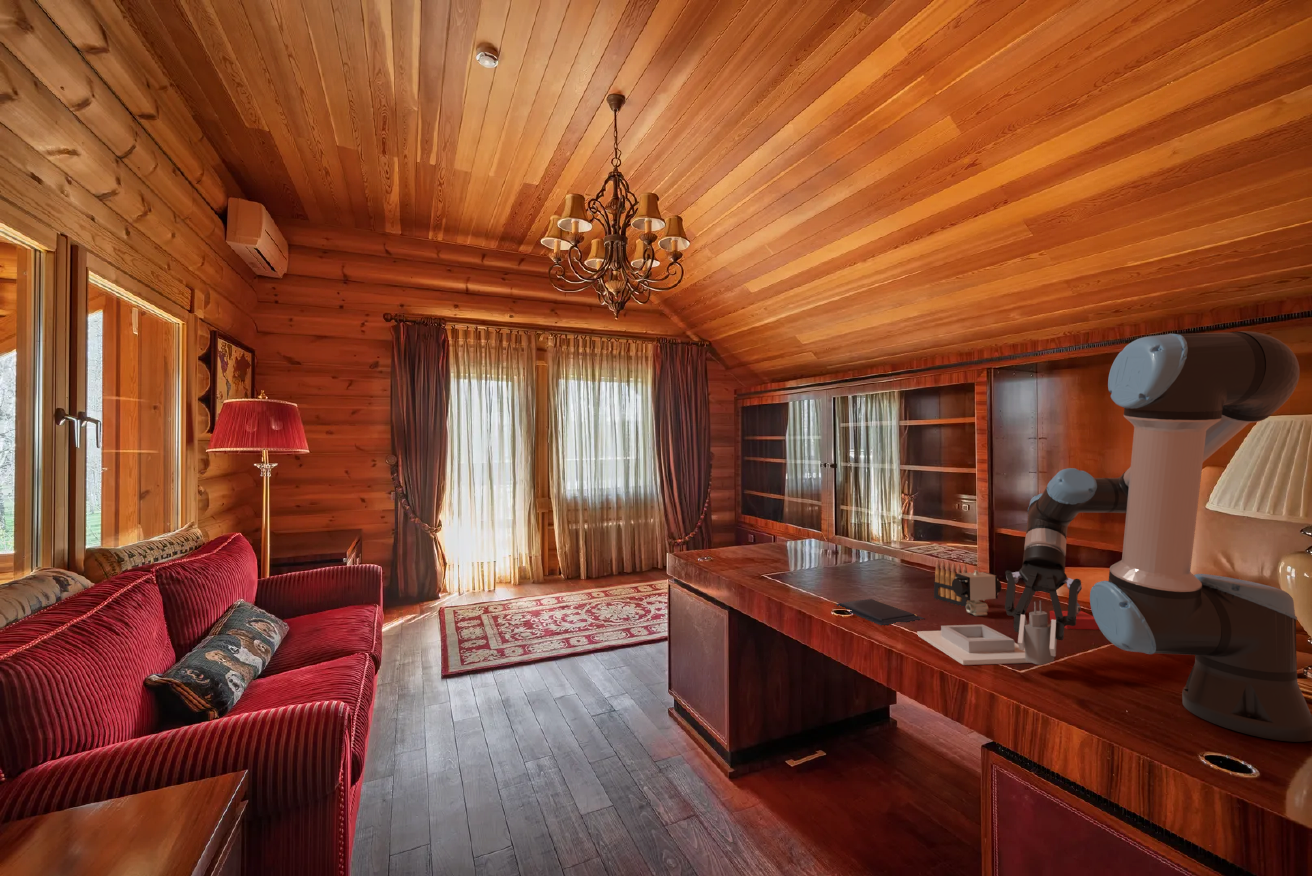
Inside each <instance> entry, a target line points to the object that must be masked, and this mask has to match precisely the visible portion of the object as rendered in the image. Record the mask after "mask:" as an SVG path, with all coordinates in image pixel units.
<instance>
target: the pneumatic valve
mask: <svg viewBox="0 0 1312 876" xmlns="http://www.w3.org/2000/svg"><path fill="white" fill-rule="evenodd" d="M952 589H953V591H954V592H955V594H956V596H958V597H961V598H964V599H966V600H970V601H967V602H966V603H967V605H966V607H965V611H966V613H968V614H971V615H973V616H975V617H982V616H988V611H989V606H988V603H986V602H985V601H986V600H994V599H995V600H996V599H997V600H998V599H999V598H998V595H999V593H1000V592H1001V591H1002V583H1001V581H1000V580H999V578H998V575H995V574H992V573H989V572H986V571H981V572H980V571H978V570H976V569H975V570H973V572H971V571H970V572H967V573H963V572H962V573H957V572H956V577H955V579H954V580H953V581H952ZM982 601H983V602H982Z"/></svg>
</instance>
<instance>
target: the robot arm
mask: <svg viewBox="0 0 1312 876" xmlns="http://www.w3.org/2000/svg"><path fill="white" fill-rule="evenodd" d="M1299 364H1300V363H1299V361H1298V359H1297V356H1296V354H1295V353H1294V352H1293V350H1292V349H1291V348H1290V347H1289V346H1288V345H1287V344H1286V343H1284V342H1282V340H1280V339H1278V338H1276V337H1273V336H1272V335H1269V334H1266V333H1262V332H1256V331H1243V330H1241V331H1231V332H1206V333H1205V332H1203V333H1200V332H1199V333H1167V334H1160V335H1159V334H1157V335H1149V336H1144V337H1140V338H1137V339H1135V340H1133V341H1131V342H1130V343H1128V344H1127V345H1126V346H1125V347H1124V348H1123V349H1122V350H1121V351H1120V352H1119V353H1118V354H1117V356H1116V357H1115V359H1114V360H1113V363H1112V365H1111V367H1110V370H1109V374H1108V381H1107V387H1108V392H1109V393H1111V394H1110V398H1111V400H1112V401H1113V402H1114V403H1115V405H1117V406H1119V407H1122V408H1124V409H1123V417H1124V419H1126V420H1127V421H1128V422H1130V424H1131V425H1132V426H1133V438H1132V448H1131V459H1130V466H1129V468H1127V469H1126V471H1124V472H1123V473H1122V474H1121V475H1120V476H1119V477H1093V475H1091V474H1090V473H1089V472H1087V471H1085V470H1079V469H1077V468H1075V467H1074V468H1073V467H1072V468H1071V467H1067V468H1063V469H1061V470H1059V471H1058V472H1057V473H1056V474H1055V475H1054V476H1052V478H1051V479H1050V480H1049V482H1047V485H1046V487H1045V489H1044V491H1043V492H1041V493H1039V494H1037V495H1035V496H1033V497H1032V498H1031V499H1030V501H1029V506H1028V507H1027V523H1026V533H1025V539H1024V549H1023V550H1024V551H1023V557H1022V564H1021V565H1022V566H1021V568H1020V569H1019V570H1018V571H1015V572H1012V571H1011V570H1005V572H1004V573H1005V577H1006V580H1007V581H1006V582H1007V583H1006V593H1005V603H1004V609H1005V612H1006V613H1005V614H1006V615H1007V616H1011V617H1013V630H1014V633H1018V635H1017V636H1018V637H1017V644H1018V645H1019V649H1020V650H1024V648H1025V633H1024V624H1028V621H1027V617H1026V613H1027V610H1028V608H1029V605H1030V603H1031V600H1032V599H1033V596H1035V594H1036V593H1037V592H1043V593H1046V594H1049V597H1050V601H1051V605H1052V609H1053V611H1054V613H1055V617H1056V620H1054V619H1051V621H1050V624H1051V633H1050V648H1049V649H1050V653H1051V656H1054V657H1056V656H1057V642H1058V641H1063V640H1064V638H1065V637H1064V636H1065V628H1064V627H1065V626H1066V625H1070V626H1075V625H1076V615H1077V603H1078V597H1079V596H1078V595H1079V594H1080V593H1081V591H1082V589H1083V588H1082V587H1083V586H1082V581H1081V579H1080V578H1074V579H1073V578H1070V577H1068V576H1067V574H1066V572H1065V571H1066V570H1065V569H1066V555H1067V535H1068V527H1069V525H1070V524H1071V522H1072V521H1074V519H1076V517H1077V516H1078V515H1079V514H1080V513H1102V514H1103V513H1108V514H1109V513H1111V514H1112V513H1114V514H1117V513H1118V514H1125V523H1124V525H1125V526H1124V532H1123V533H1124V535H1123V542H1122V543H1123V546H1122V557H1121V560H1119V561H1117V562H1115V563H1114V564H1112V565H1110V567H1109V573H1108V580H1101V581H1097V582H1095V583H1094V585H1093V586H1092V587H1091V589H1090V593H1089V603H1090V609H1091V612H1092V616H1094V619H1095V621H1096V623H1097V625H1098V627H1099V628H1100V632H1101V633H1102V634H1103V636H1104V637H1105V638H1106V640H1108V641H1109V642H1110V643H1111V644H1112V645H1113V646H1115V647H1116V648H1119V649H1121V650H1123V651H1125V652H1126V651H1127V652H1132V653H1133V652H1134V653H1143V654H1147V655H1153V654H1159V655H1160V654H1162V655H1163V654H1164V655H1182V656H1183V655H1184V656H1185V655H1187V656H1188V655H1189V656H1194V665H1193V666H1192V669H1191V671H1190V674H1189V675H1188V678H1187V680H1186V683H1185V686H1183V688H1182V693H1181V694H1182V695H1181V696H1182V697H1181V698H1182V705H1183V707H1184V708H1185V709H1186V710H1187V711H1189V712H1190V713H1191V714H1193V715H1194V716H1195V717H1198V718H1200V719H1203V720H1204V721H1206V722H1209V723H1211V724H1214V725H1217V726H1219V727H1222V728H1225V729H1228V730H1231V731H1233V732H1238V733H1241V734H1244V735H1247V736H1248V735H1249V736H1253V737H1258V738H1263V739H1268V740H1274V741H1282V742H1289V743H1291V742H1293V743H1295V742H1296V743H1304V742H1305V743H1306V742H1311V741H1312V713H1311V711H1310V709H1309V706H1308V704H1307V701H1306V699H1305V697H1304V694H1303V692H1302V690H1301V687H1300V685H1299V683H1298V682H1299V681H1298V664H1297V663H1298V661H1297V657H1298V656H1297V621H1298V617H1297V616H1296V610H1295V602H1294V598H1293V597H1292V595H1290V594H1289V593H1288V592H1287V591H1285V590H1283V589H1280V588H1277V587H1274V586H1271V585H1268V584H1267V585H1266V584H1263V583H1258V582H1254V581H1249V580H1246V579H1245V580H1243V579H1240V578H1233V577H1228V576H1224V575H1223V576H1221V575H1217V574H1216V575H1215V574H1207V573H1196V574H1194V573H1192V572H1191V569H1192V558H1193V551H1194V543H1195V535H1196V533H1195V531H1196V524H1197V514H1198V507H1199V506H1198V505H1199V497H1200V491H1201V490H1200V489H1201V481H1202V472H1203V471H1202V470H1203V465H1204V464H1203V463H1204V462H1206V460H1207V459H1209V458H1210V457H1211V456H1212V455H1213V454H1215V453H1216V452H1217V451H1219V449H1220V448H1221V447H1223V446H1224V445H1225V444H1226V443H1228V442H1229V441H1230V440H1232V439H1233V437H1235V436H1236V435H1237V434H1238V433H1239V432H1241V431H1242V430H1243V429H1244V428H1246V426H1248V425H1249V424H1250V423H1260V422H1262V421H1265V420H1267V419H1268V418H1269V417H1270V416H1271V415H1273V414H1274V413H1275V412H1277V411H1278V410H1279V409H1280V408H1281V407H1282V406H1283V405H1284V404H1285V403H1286V402H1287V401H1288V400H1289V398H1290V397H1291V396H1292V395H1293V394H1294V391H1295V389H1296V387H1297V386H1298V382H1299V380H1300V365H1299ZM1019 579H1021V580H1022V581H1023V582H1024V584H1025V587H1024V589H1023V591H1022V593H1021V595H1020V597H1019V600H1018V602H1017V605H1016V607H1015V599H1016V589H1017V588H1016V584H1017V583H1018V582H1019ZM1065 584H1066V587H1067V589H1068V590H1069V591H1068V600H1067V611H1068V614H1067V616H1063V614H1062V611H1063V610H1062V607H1061V603H1060V600H1059V594H1058V592H1057V591H1058V590H1059V589H1060V588H1061V587H1063V586H1065Z"/></svg>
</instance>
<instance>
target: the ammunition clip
mask: <svg viewBox="0 0 1312 876" xmlns="http://www.w3.org/2000/svg"><path fill="white" fill-rule="evenodd" d="M954 562H955V561H954ZM954 562H952V564H950V561H947V562H946V564H945V561H944V560H943V559H942V560H941V563H940V560H939V559H936V562H935V572H934V575H935V576H934V577H935V578H934V582H933V586H934V587H933V589H934V590H933V598H936V599H935V600H938V599H939V601H941V600H942V602H945V601H947V602H946V603H948V602H950V603H949V604H952V603H953V605H955V604H956V606H959V605H961V606H960V607H962V606H965V607H964V608H966V605H967V603H966V602H967V601H971V600H966V599H964V598H961V597H958V596H956V594H955V592H954V591H953V589H952V581H953V580H954V579H955V577H956V573H968V568H967V566H966V564H963V567H962V566H961V563H958V564H957V567H956V565H955V563H954Z"/></svg>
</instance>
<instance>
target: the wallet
mask: <svg viewBox="0 0 1312 876" xmlns="http://www.w3.org/2000/svg"><path fill="white" fill-rule="evenodd" d="M835 605H837V606H839V605H840V606H842V607H845V608H846V609H850V610H852V611H850V612H851V613H850V614H852V615H854V614H856V615H855V616H857V617H860V618H862V619H864V618H865V619H864V620H867V621H868V622H869V621H870V622H871V623H873V622H874V624H876V625H878V626H882V625H884V626H885V625H887V626H890V625H889V624H893V623H896V622H906V623H910V621H912V622H916V621H915V620H918V621H921V620H920V619H924V620H926V618H925V617H922V616H920V615H918V614H915V613H912V612H910V611H907V610H903V609H902V608H898V607H895V606H893V605H890V604H887V603H884V602H881V601H878V600H876V599H872V598H867V599H860V600H859V599H858V600H851V601H845V602H840V603H836V604H835ZM885 627H886V626H885Z"/></svg>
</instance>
